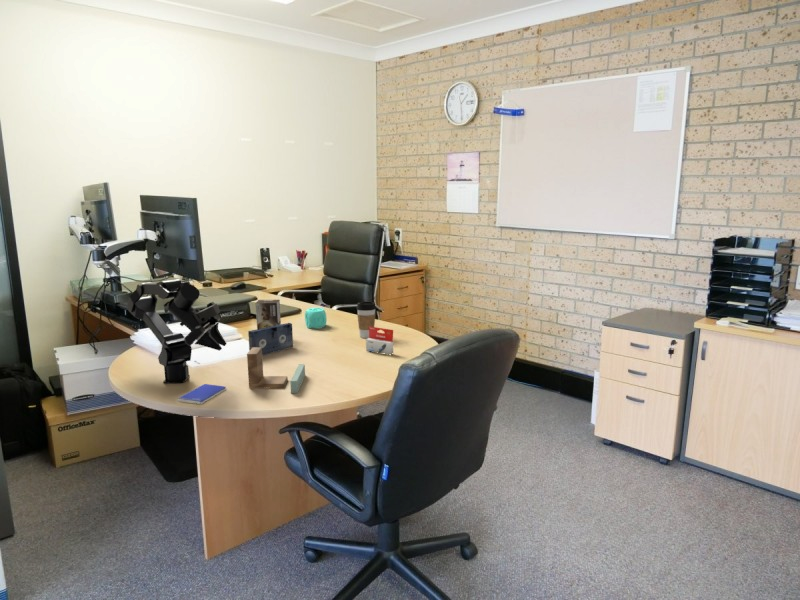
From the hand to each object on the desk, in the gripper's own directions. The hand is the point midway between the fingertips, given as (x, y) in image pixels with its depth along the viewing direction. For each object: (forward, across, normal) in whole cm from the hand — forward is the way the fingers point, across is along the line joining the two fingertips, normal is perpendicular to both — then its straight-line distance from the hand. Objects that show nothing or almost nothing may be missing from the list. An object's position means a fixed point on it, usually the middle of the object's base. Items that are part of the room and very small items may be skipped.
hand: (223, 347), depth 173 cm
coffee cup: (+40, +56, -22) cm, 72 cm away
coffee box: (+11, +54, +7) cm, 56 cm away
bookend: (+19, 0, -1) cm, 19 cm away
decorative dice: (+23, +73, -5) cm, 77 cm away
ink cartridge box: (+44, +33, -26) cm, 61 cm away
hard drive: (+6, -9, +13) cm, 17 cm away
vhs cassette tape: (+14, +35, +4) cm, 38 cm away
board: (+26, 0, -8) cm, 27 cm away
